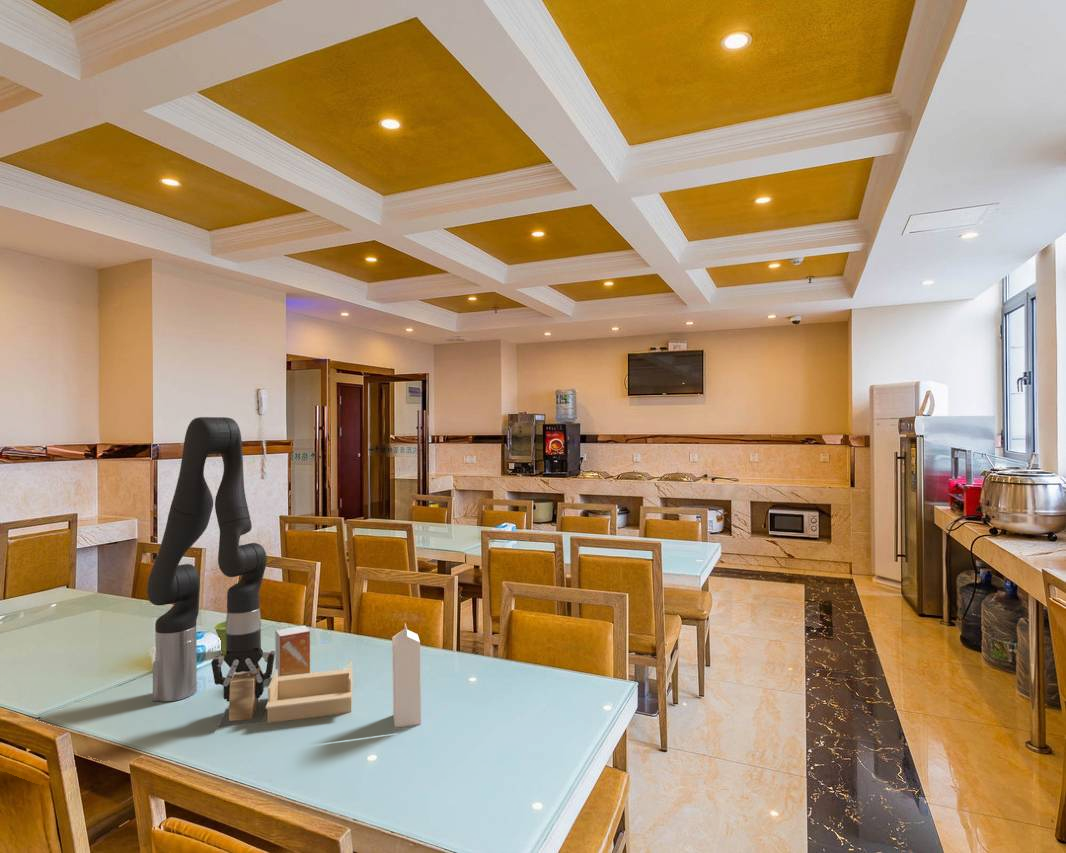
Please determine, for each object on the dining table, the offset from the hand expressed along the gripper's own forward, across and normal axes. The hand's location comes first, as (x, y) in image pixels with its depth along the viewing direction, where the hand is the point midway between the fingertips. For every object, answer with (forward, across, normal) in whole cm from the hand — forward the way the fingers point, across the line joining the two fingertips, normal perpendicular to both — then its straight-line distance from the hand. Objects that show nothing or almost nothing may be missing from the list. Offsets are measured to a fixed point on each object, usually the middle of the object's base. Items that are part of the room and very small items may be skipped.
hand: (244, 698), depth 145 cm
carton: (+4, +16, 0) cm, 16 cm away
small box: (+4, +8, +21) cm, 23 cm away
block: (+3, 0, 0) cm, 3 cm away
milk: (+4, +38, -14) cm, 40 cm away
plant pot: (+4, -12, +48) cm, 50 cm away
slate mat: (+4, 0, 0) cm, 4 cm away
